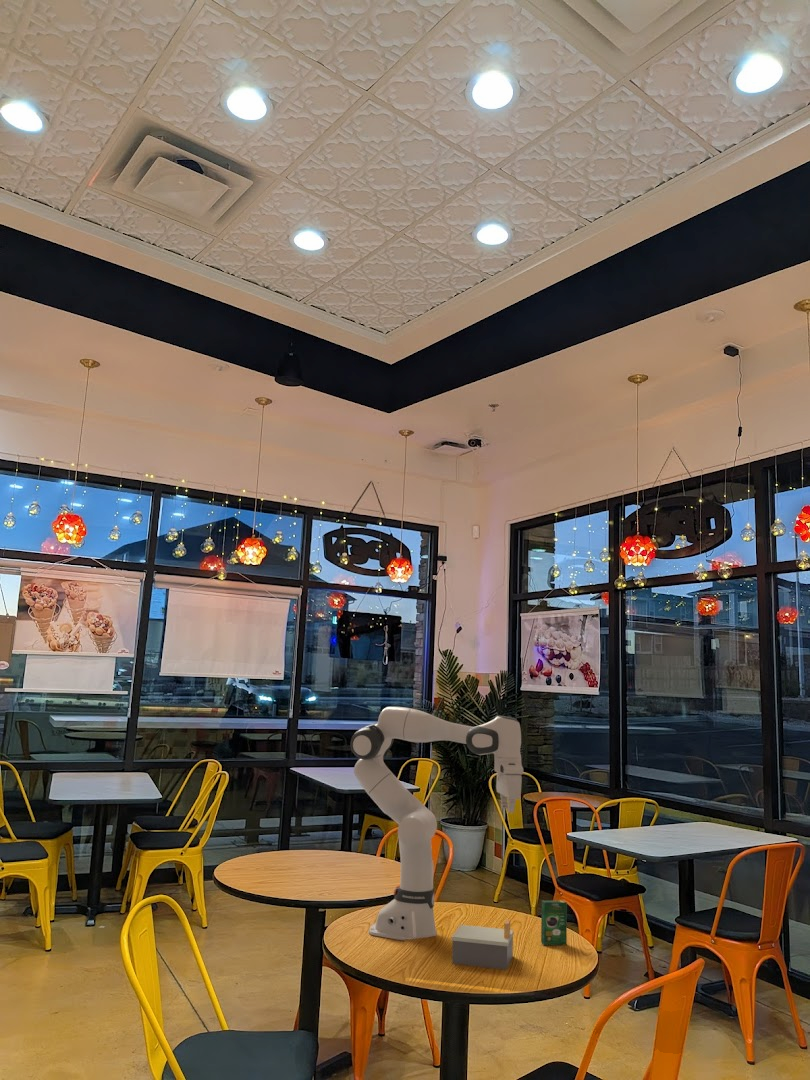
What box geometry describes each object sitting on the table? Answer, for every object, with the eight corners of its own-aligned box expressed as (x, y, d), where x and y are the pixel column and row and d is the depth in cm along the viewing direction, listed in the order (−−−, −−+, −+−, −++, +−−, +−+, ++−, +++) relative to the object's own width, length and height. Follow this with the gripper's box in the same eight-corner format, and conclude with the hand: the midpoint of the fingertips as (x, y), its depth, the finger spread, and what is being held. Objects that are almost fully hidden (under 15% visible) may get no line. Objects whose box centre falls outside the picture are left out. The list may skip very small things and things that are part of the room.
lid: (451, 943, 226) (452, 922, 228) (460, 931, 239) (460, 910, 240) (507, 949, 222) (507, 927, 223) (513, 936, 235) (513, 916, 236)
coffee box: (564, 942, 251) (563, 899, 254) (567, 945, 249) (567, 901, 251) (540, 943, 250) (540, 899, 252) (544, 946, 247) (543, 902, 250)
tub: (452, 966, 225) (452, 940, 227) (460, 953, 238) (461, 928, 239) (507, 972, 221) (507, 946, 223) (512, 958, 234) (512, 933, 235)
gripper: (491, 763, 264) (491, 806, 261) (505, 768, 244) (505, 814, 241) (510, 764, 265) (510, 806, 262) (524, 769, 245) (524, 815, 242)
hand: (507, 810), depth 251 cm, fingers open, 8 cm apart
